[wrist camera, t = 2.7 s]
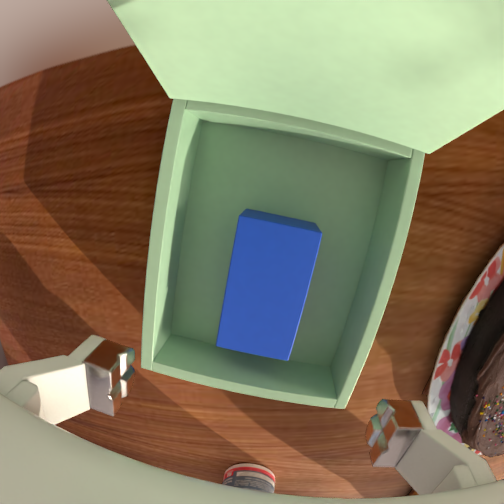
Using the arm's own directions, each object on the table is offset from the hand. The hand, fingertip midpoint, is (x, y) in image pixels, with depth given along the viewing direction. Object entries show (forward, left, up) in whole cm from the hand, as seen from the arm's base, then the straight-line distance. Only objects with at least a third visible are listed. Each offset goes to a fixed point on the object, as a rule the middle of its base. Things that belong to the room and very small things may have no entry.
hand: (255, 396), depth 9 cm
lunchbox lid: (-5, +10, +1) cm, 12 cm away
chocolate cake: (+26, +10, -13) cm, 31 cm away
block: (0, 0, -12) cm, 12 cm away
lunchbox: (-1, +1, -13) cm, 13 cm away
